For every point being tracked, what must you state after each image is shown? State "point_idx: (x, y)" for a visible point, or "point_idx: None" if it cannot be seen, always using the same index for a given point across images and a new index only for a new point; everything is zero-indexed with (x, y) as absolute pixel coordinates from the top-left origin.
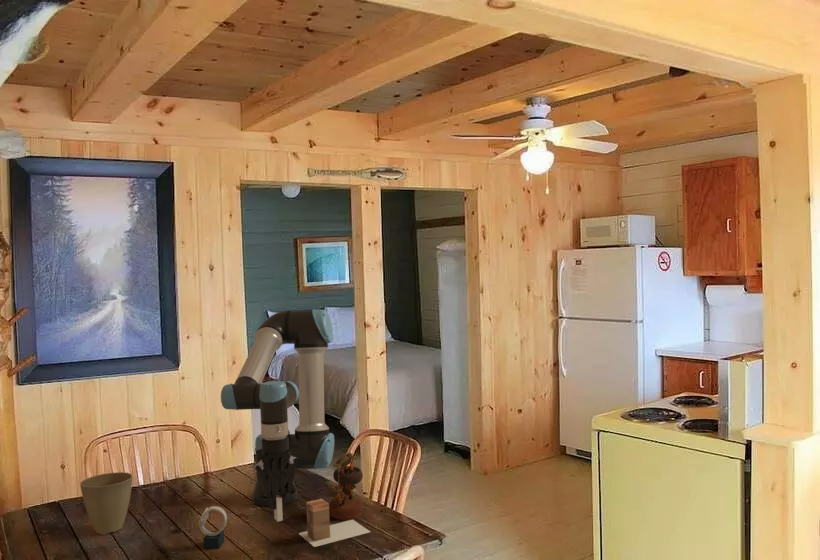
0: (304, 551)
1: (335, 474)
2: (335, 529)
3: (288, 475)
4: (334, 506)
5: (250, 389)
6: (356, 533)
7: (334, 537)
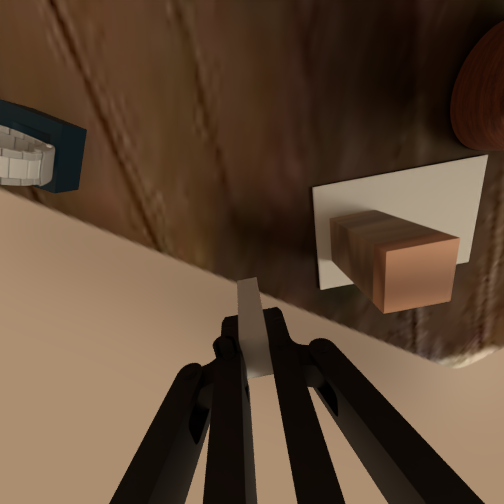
0: (294, 296)
1: None
2: (409, 208)
3: (382, 473)
4: (495, 106)
5: None
6: None
7: None
